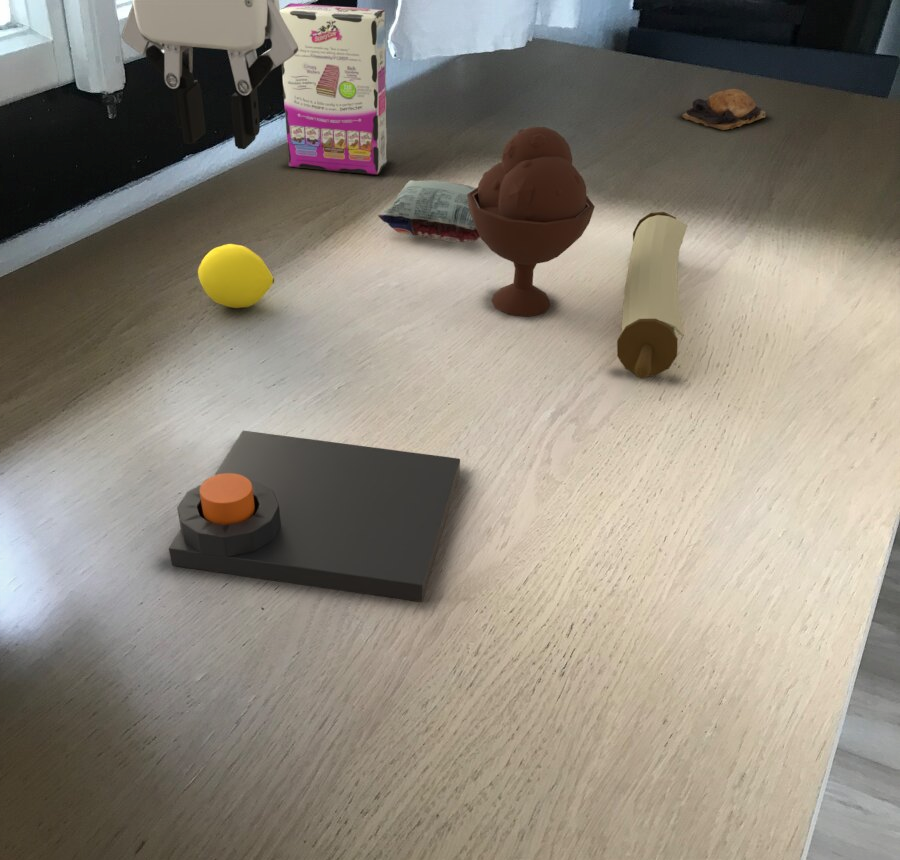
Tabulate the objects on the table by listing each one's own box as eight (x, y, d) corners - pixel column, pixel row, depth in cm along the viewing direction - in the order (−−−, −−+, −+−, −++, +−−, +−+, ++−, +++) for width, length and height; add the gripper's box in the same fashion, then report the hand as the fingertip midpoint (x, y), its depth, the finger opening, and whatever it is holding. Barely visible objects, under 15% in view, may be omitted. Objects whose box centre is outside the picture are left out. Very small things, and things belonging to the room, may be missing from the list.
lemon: (190, 313, 87) (181, 253, 84) (213, 288, 91) (206, 230, 88) (265, 323, 86) (259, 263, 83) (285, 297, 90) (280, 239, 87)
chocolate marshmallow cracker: (721, 105, 144) (727, 77, 141) (770, 119, 139) (776, 91, 137) (676, 116, 138) (681, 88, 136) (724, 132, 134) (731, 102, 131)
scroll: (631, 243, 103) (639, 195, 100) (684, 250, 102) (694, 201, 99) (603, 393, 80) (613, 336, 76) (673, 403, 79) (685, 346, 76)
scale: (170, 566, 61) (163, 528, 59) (243, 446, 72) (239, 410, 70) (421, 602, 60) (422, 565, 58) (459, 474, 70) (461, 438, 68)
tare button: (195, 522, 61) (191, 499, 59) (213, 492, 63) (210, 469, 62) (245, 529, 60) (242, 506, 59) (261, 499, 63) (259, 476, 61)
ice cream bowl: (442, 290, 93) (448, 120, 83) (542, 271, 97) (559, 108, 87) (496, 338, 86) (510, 159, 76) (602, 316, 90) (628, 144, 80)
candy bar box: (388, 163, 119) (387, 8, 108) (378, 176, 115) (377, 17, 104) (299, 154, 120) (289, -1, 109) (286, 167, 117) (275, 9, 106)
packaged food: (406, 209, 108) (406, 163, 104) (509, 227, 105) (513, 180, 102) (376, 239, 102) (375, 190, 98) (485, 258, 99) (488, 209, 96)
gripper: (321, -138, 69) (332, 137, 81) (98, -153, 71) (141, 118, 83) (290, -127, 64) (306, 166, 76) (49, -144, 65) (103, 146, 78)
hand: (220, 138), depth 79 cm, fingers open, 3 cm apart
